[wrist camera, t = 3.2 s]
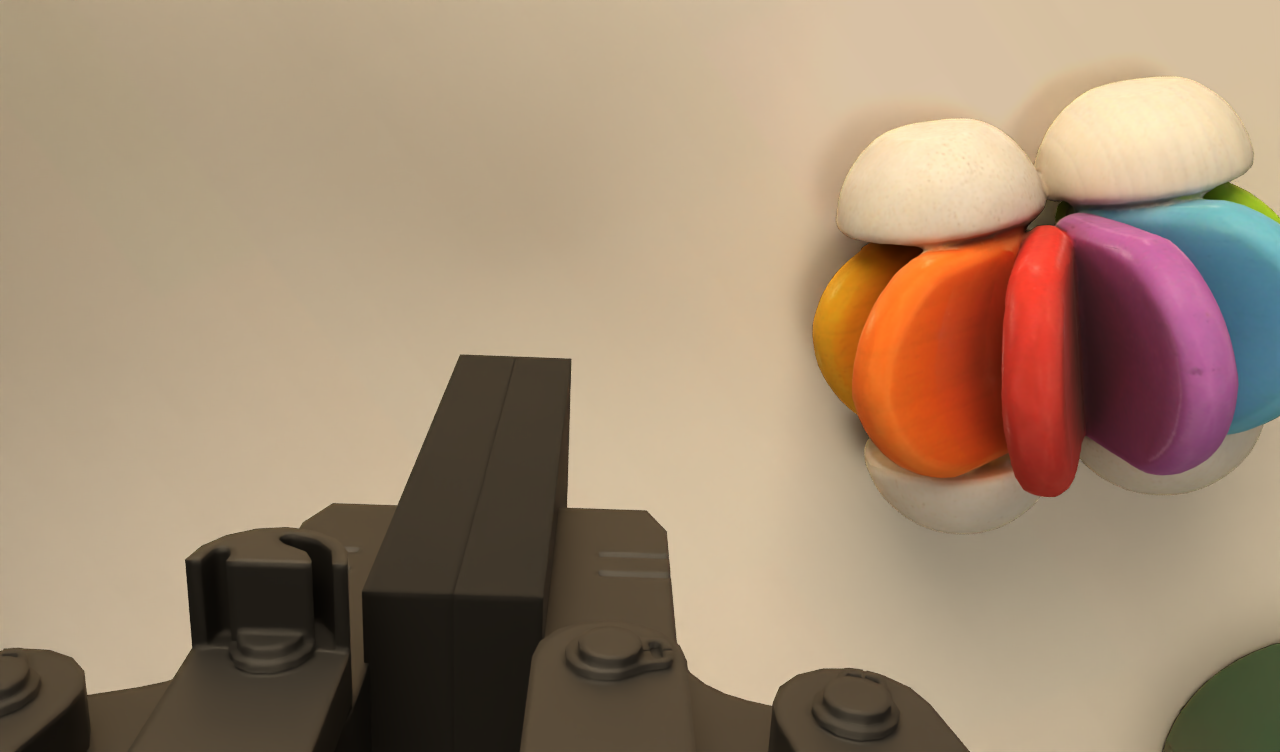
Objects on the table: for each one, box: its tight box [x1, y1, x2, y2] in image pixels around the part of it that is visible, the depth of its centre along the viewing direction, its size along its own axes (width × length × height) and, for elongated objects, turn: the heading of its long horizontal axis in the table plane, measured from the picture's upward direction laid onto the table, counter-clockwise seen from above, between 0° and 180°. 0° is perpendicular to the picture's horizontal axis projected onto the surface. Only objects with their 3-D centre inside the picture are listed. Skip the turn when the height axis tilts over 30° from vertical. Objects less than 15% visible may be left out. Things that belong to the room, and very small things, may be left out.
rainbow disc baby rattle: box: [812, 76, 1280, 534], centre depth 23 cm, size 8×10×7 cm
